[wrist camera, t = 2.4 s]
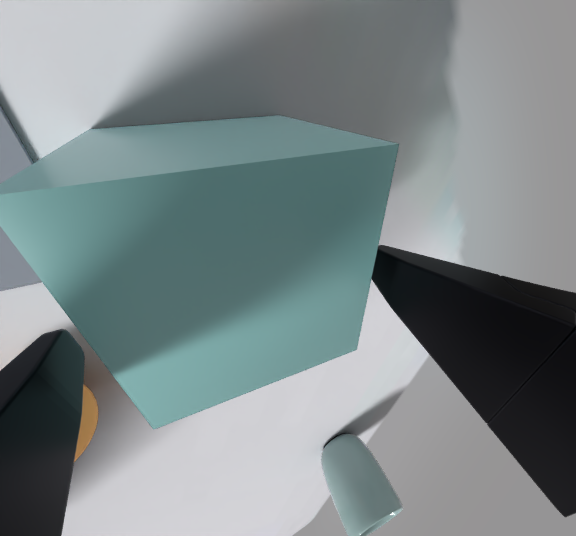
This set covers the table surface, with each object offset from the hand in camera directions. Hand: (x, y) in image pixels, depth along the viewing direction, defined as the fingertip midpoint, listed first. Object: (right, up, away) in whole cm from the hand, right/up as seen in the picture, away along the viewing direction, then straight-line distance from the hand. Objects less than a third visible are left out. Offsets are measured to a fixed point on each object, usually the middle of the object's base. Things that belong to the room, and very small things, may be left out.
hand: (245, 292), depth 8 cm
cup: (+9, -26, +32) cm, 42 cm away
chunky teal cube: (-3, +4, +5) cm, 7 cm away
